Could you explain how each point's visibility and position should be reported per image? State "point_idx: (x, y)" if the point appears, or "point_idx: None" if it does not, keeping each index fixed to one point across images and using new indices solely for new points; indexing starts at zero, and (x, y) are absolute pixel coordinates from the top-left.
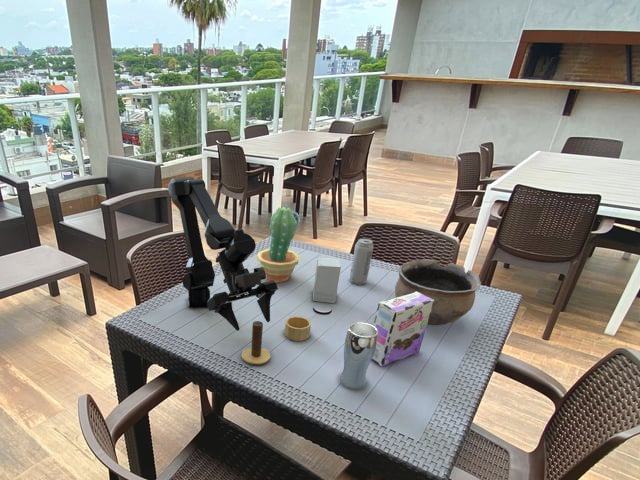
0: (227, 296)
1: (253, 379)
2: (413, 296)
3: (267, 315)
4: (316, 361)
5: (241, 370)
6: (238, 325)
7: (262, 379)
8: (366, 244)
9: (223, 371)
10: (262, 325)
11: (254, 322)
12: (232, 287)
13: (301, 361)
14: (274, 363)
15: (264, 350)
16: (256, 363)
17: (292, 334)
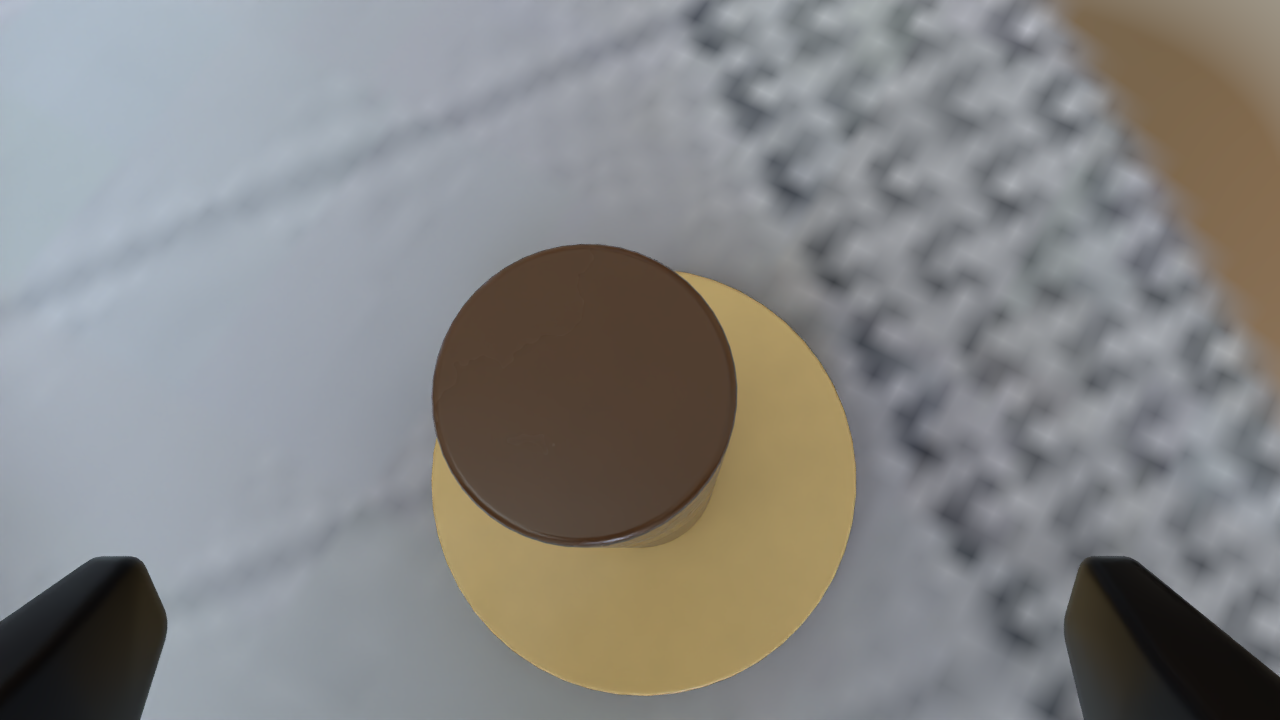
0: None
1: (915, 97)
2: None
3: (39, 660)
4: (22, 64)
5: (965, 321)
6: (1145, 619)
7: (814, 52)
8: None
9: (1204, 412)
10: (502, 275)
11: (637, 489)
12: None
13: (174, 142)
14: (494, 257)
15: (472, 504)
16: (745, 294)
17: None
